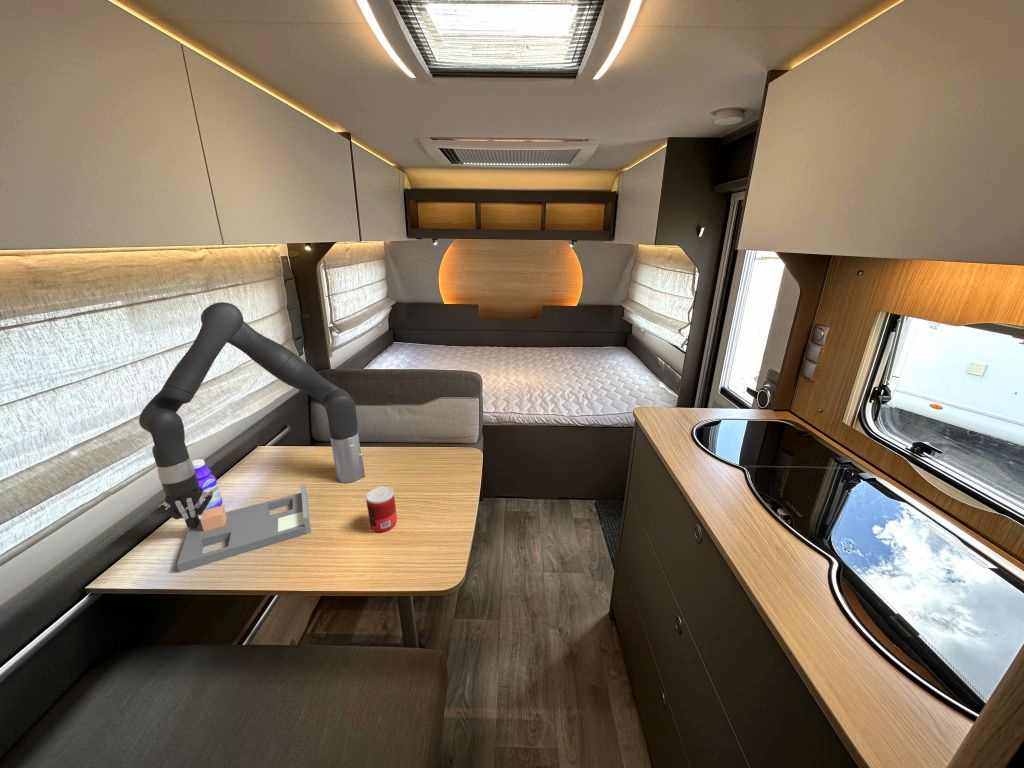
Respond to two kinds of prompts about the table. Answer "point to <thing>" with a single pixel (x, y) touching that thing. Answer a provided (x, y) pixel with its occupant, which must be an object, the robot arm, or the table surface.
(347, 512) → the table surface
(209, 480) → the bottle
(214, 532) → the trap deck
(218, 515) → the block
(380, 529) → the canned food
